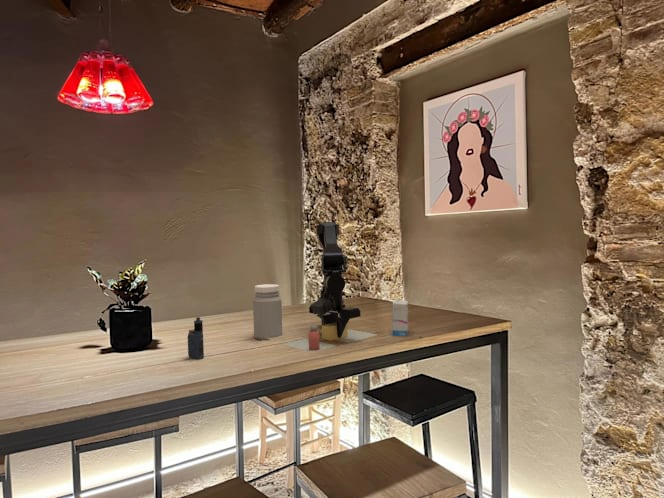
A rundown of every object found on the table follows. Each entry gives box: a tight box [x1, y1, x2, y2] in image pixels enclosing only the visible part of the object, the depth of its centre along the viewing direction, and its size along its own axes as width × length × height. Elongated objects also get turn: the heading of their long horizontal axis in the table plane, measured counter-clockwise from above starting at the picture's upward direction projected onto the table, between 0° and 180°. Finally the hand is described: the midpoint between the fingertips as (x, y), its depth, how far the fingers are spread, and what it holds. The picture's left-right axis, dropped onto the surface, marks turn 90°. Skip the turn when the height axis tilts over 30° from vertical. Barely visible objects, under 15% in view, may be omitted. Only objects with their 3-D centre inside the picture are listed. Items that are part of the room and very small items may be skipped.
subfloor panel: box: [280, 328, 377, 353], centre depth 156 cm, size 14×30×1 cm, turn 134°
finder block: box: [321, 322, 349, 341], centre depth 158 cm, size 4×8×5 cm, turn 135°
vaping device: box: [187, 316, 205, 360], centre depth 141 cm, size 3×5×12 cm, turn 58°
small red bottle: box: [307, 324, 320, 351], centre depth 144 cm, size 3×3×7 cm
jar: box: [252, 283, 283, 341], centre depth 165 cm, size 10×10×18 cm
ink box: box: [392, 299, 409, 337], centre depth 163 cm, size 9×5×12 cm, turn 168°
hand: (334, 336), depth 158 cm, fingers closed on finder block, 4 cm apart
